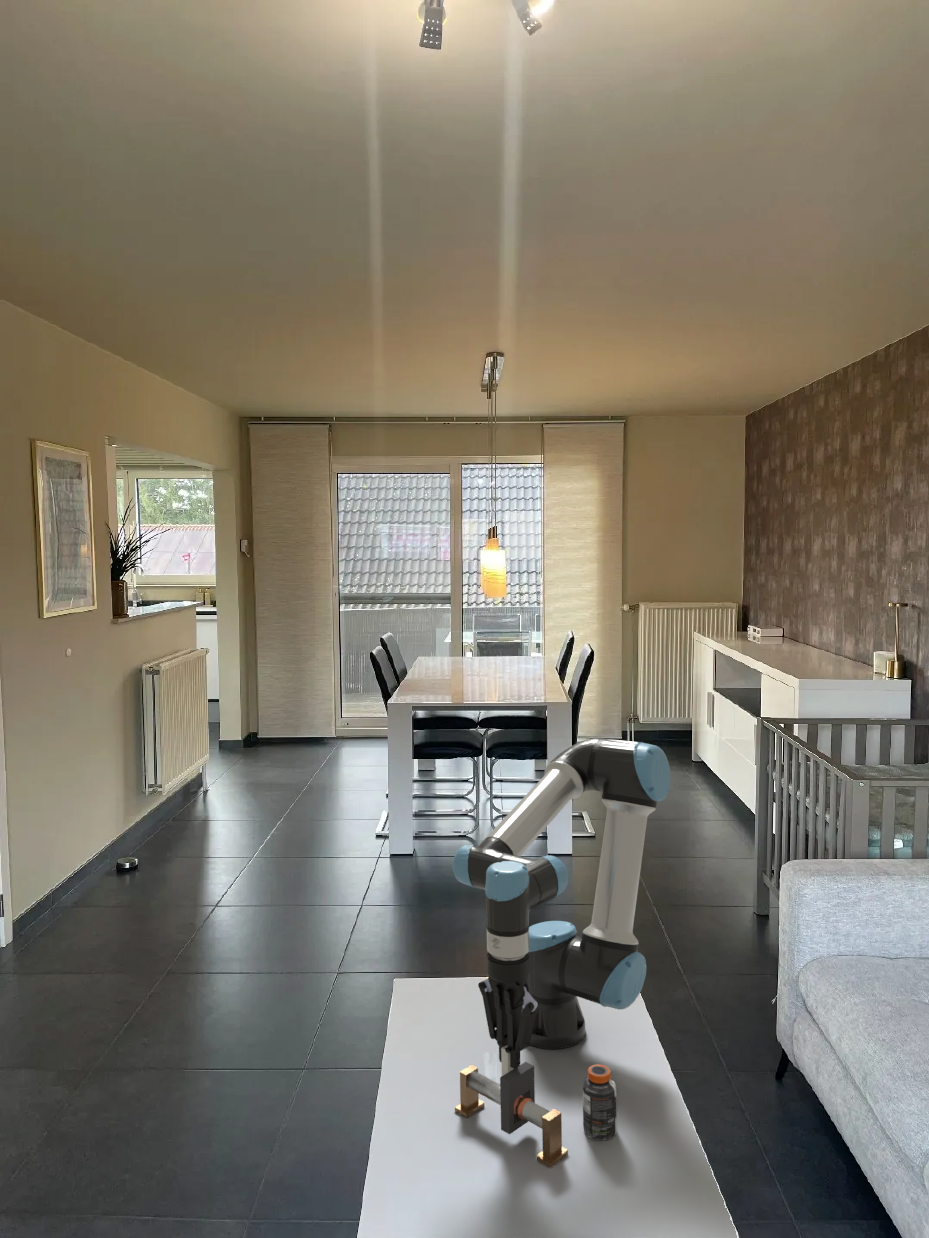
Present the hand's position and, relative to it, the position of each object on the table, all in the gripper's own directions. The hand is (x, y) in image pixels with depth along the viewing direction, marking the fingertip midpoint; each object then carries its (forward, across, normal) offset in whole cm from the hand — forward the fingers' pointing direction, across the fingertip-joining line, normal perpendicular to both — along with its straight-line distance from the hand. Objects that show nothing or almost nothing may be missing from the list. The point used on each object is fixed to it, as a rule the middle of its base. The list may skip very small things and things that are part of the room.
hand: (510, 1081), depth 156 cm
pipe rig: (+9, 0, 0) cm, 9 cm away
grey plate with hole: (+7, +2, 0) cm, 7 cm away
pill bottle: (+10, +11, +11) cm, 19 cm away
